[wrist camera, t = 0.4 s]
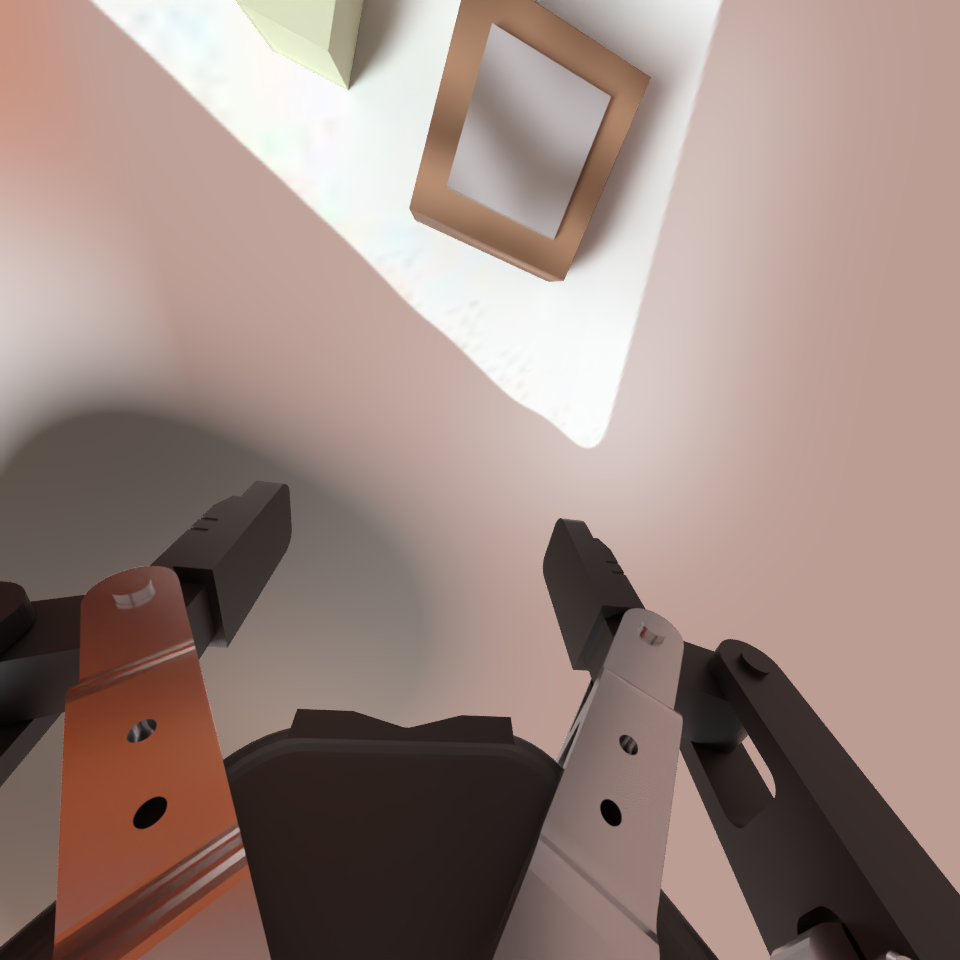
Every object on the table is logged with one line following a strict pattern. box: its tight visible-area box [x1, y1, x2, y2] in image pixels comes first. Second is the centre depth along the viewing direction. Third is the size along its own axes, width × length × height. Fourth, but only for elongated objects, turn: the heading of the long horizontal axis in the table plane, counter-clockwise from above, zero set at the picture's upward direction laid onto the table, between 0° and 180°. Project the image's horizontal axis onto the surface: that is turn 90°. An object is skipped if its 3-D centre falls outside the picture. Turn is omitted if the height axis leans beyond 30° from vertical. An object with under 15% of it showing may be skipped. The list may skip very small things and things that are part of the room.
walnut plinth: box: [410, 0, 651, 281], centre depth 26 cm, size 12×12×6 cm
